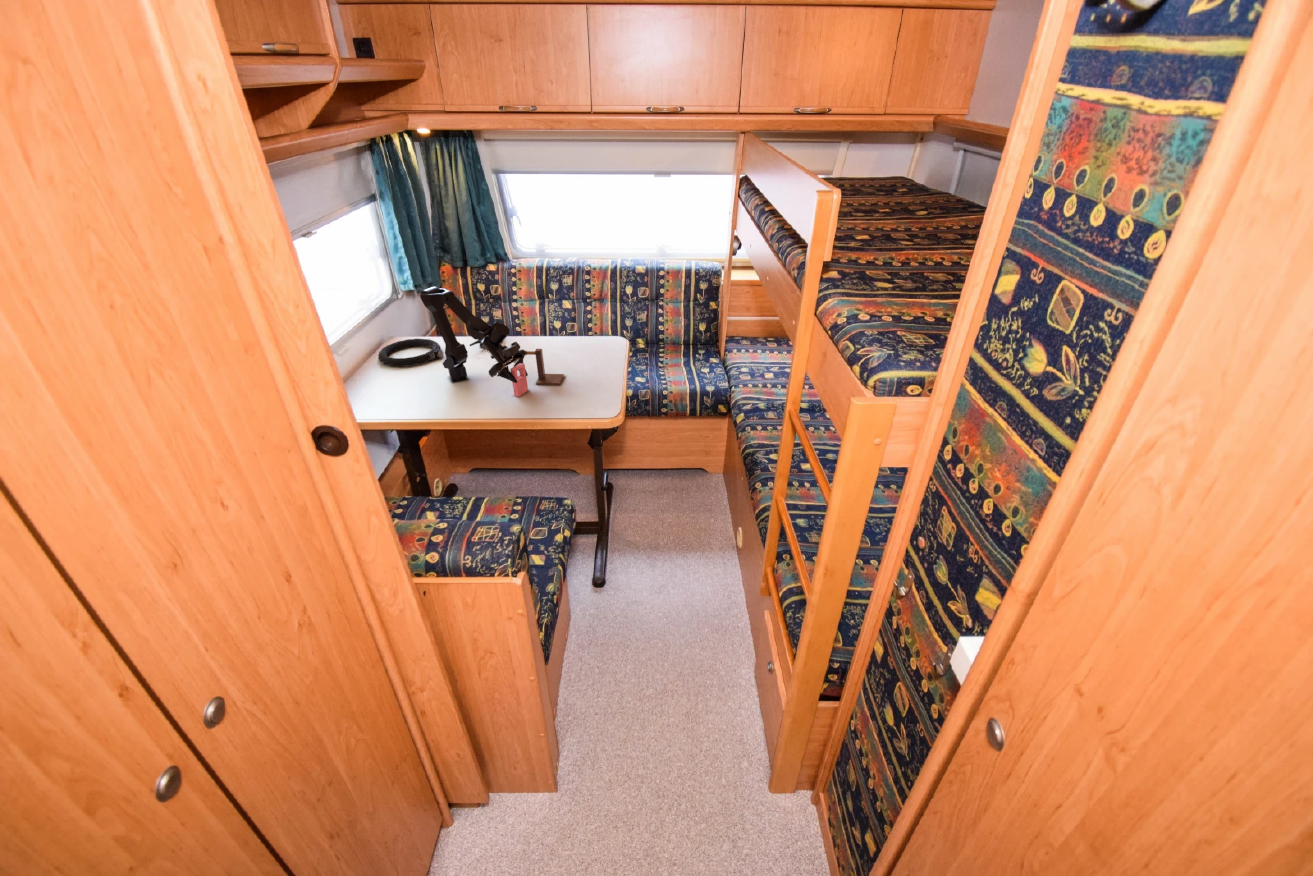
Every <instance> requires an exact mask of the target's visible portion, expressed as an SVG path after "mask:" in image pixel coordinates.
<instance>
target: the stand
mask: <svg viewBox="0 0 1313 876" xmlns="http://www.w3.org/2000/svg"><path fill="white" fill-rule="evenodd" d="M524 350H525V349H524ZM525 352H526V353H527V354H526V355H525V356H527V355H528V356H529V355H530V356H535V362H536V369H537V376H538V378H537V380H536V382H535V385H536V386H561V384H562V382H563V380H564V377H565V373H546V370H545V362H544V354H543V348H536V349H535V350H532V351H531V350H525Z"/></svg>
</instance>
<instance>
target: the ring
mask: <svg viewBox="0 0 1313 876" xmlns="http://www.w3.org/2000/svg"><path fill="white" fill-rule="evenodd" d="M410 347H411V348H413V347H426V348H431V349H430V350H429V351H427V352H425V353H422V354H419V355H416V356H410V357H399V358H395V357H389V356H388V355H390V354H391V353H393V352H395V351H398V350H400V349H401V350H402V349H405V348H410ZM443 355H444V353H443V350H442V349H441V346H440V343H438V342H437V341H435V340H433V339H430V338H429V339H428V338H408V339H405V340H398V341H396V342H393V343H390V344H387V345H385V346H384V347H382V348H381V350H380V351H378V354H377V356H378V360H379V361H380V363H383V364H384V365H388V366H391V367H395V366H396V367H407V366H408V367H409V366H415V365H418V364H419V365H420V364H423V363H425V362H429V361H433V360H434V359H436V360H439V359H442V358H443Z"/></svg>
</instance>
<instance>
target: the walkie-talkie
mask: <svg viewBox="0 0 1313 876" xmlns="http://www.w3.org/2000/svg"><path fill="white" fill-rule="evenodd" d="M487 336H489V335H487ZM487 336H485V337H487ZM485 337H483V338H481V339H478V340H477V339H476V341H473V342H472V343H470V344H469V346H470V347H472V346H475V345H478V344H480V341H481V340H483V339H484V338H485ZM483 348H484V349H486V348H485V347H483Z"/></svg>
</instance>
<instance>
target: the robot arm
mask: <svg viewBox="0 0 1313 876" xmlns="http://www.w3.org/2000/svg"><path fill="white" fill-rule="evenodd" d="M419 298H420V300H421V302H422V304H423V306H424V307H425V308H426V309H427V310H428V311H429V312H430V313H431V314H432V316H433V319H434V321H435V323H436V327H437V329H438V331H439V333H440V336H441V337H442V340H443V342H444V345H445V347H444V355H445V359H444V361H443V362H442V366H443V368H444V369H447V370H448V378H449V380H450V381H451V383H457V382H462V381H466V380H468V373H467V368H466V366H465V365H464V364H466V363H467V361H468V357H469V354H468V353H469V351H468V350H467V348H466V345H465V344H464V343H462V344H461V342H459V341H458V339H457V337H456V334H455V332H454V329H453V327H452V325H451V323H450V321H449V318H448V316H447V313H446V311H445V305H446V306H447V307H448V308H449V309H450V310H451V311H452V312H453V313H454V314H455V316H457V317H458V318H459V320H460V321H461V322H462V323H463V324H464V325H465V328H466V331H467V332H468V334H469V335H470V336H471V338H472V339H473V340H476V341H477V340H478V339H481V338H483V337H485V336H487V335H489V336H487V337H485V338H484V339H483V340H481V341H480V343H479V348H484V347H485V348H484V349H486V351H488V352H489V354H490V355H491V356H490V358H491V359H492V360H493V359H495V361H496V363H495V364H493V365H492V366H491V368H490V369H489V370H488V375H489V377H491V378H494V377H497V378H498V377H500V378H503V379H506V380H508V381H510V382H514V383H517V380H516V378H515V377H514V376H513V375H512V374H511V371H510V367H509V365H511V364H512V363H513V367H514V366H516V365H518V364H519V363H523V364H525V362H524V359H525V357H526V356H527V355H526V354H527V353H526V352H525V349H522V348H521V345H520V343H518V342H517V341H513V342H512V343H510V346H509V347H508V346H507V345H502V343H503V342H504V341H505V340H506V338H507V337H508V336H509V335H510V333H511V332H510V331H511V330H510V328H509V327H508V326H507V325H505V324H504V323H500V322H499V321H495V322H493V324H492V325H491V324H489V323H487V322H486V321H485V320H483V319H482V318H480V317H478V316H476V315H475V314H473V313H472V311H470V310H469V309H468V308H467V306H466V305H465V304H464V303H463V302H462V301H461V300H460V299H459V298H457V296H456V295H455V292H454V291H452V290H447V288H439V287H438V286H432V287H429V288H426V289H423V290H421V292H420V295H419ZM525 371H526V377H528V375H529V374H528V371H527V370H526V368H525ZM517 372H519V370H518V371H517Z"/></svg>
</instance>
